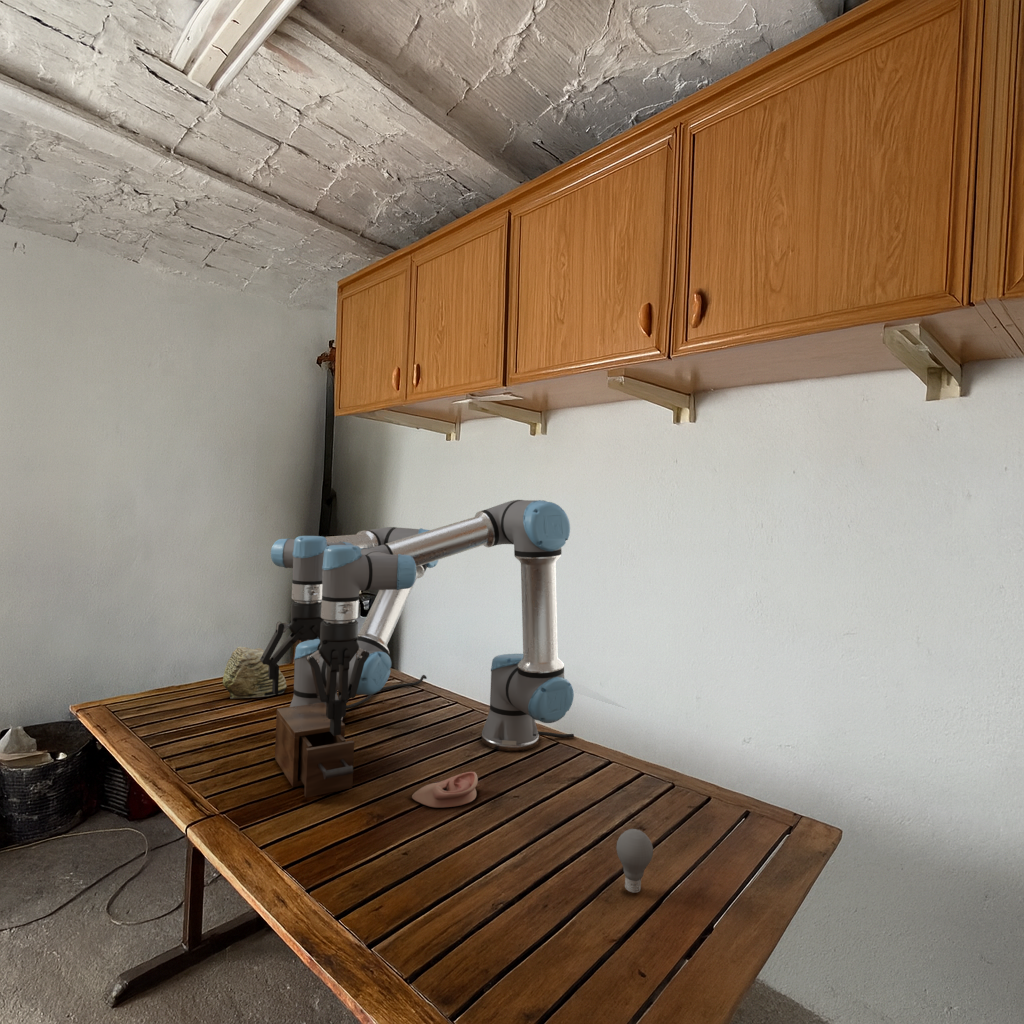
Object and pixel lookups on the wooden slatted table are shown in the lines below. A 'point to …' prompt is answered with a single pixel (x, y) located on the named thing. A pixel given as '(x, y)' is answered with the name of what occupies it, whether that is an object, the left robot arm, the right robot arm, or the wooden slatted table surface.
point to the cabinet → (298, 735)
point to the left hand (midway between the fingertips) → (304, 689)
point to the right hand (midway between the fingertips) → (335, 732)
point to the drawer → (325, 763)
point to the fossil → (249, 675)
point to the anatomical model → (449, 791)
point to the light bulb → (634, 857)
